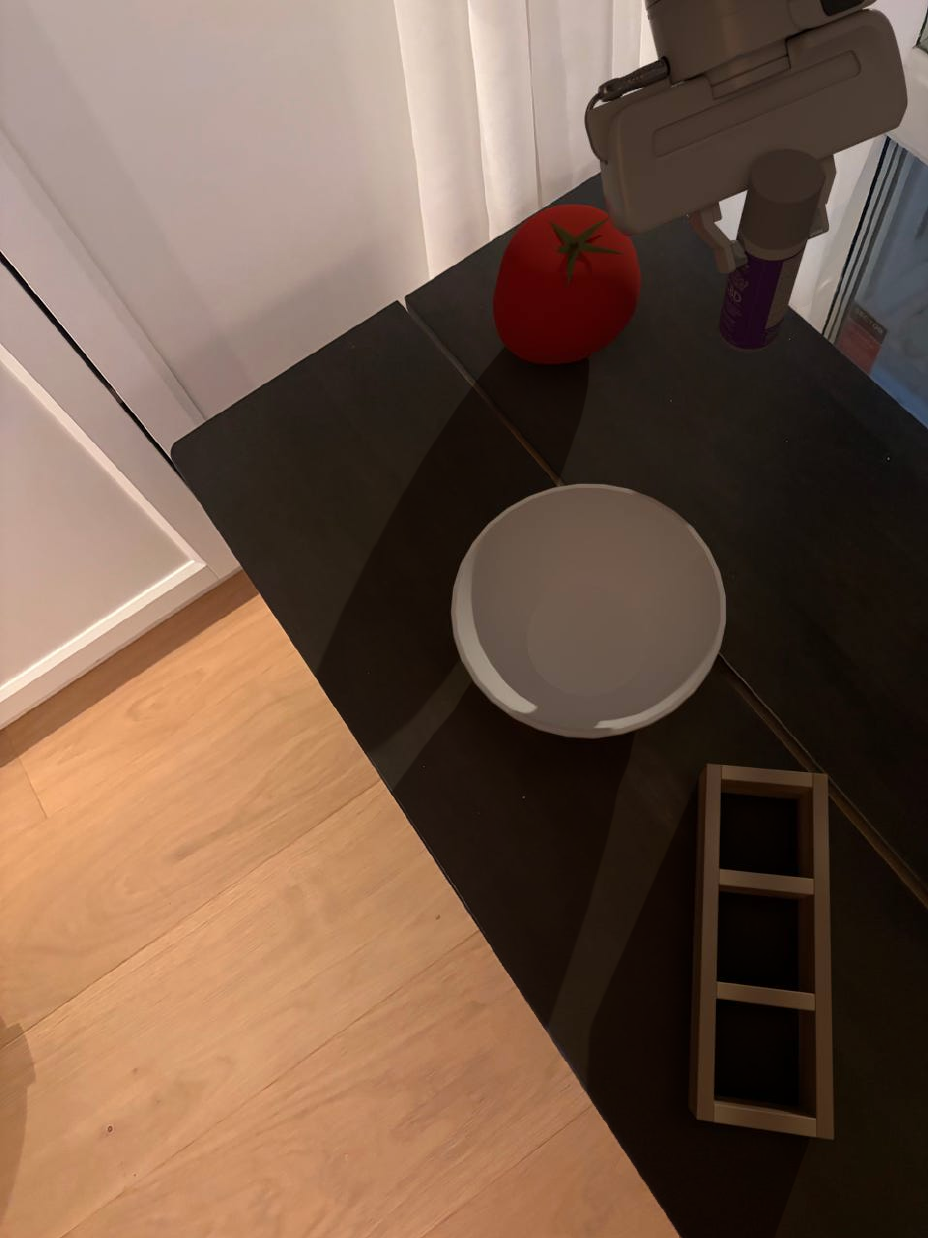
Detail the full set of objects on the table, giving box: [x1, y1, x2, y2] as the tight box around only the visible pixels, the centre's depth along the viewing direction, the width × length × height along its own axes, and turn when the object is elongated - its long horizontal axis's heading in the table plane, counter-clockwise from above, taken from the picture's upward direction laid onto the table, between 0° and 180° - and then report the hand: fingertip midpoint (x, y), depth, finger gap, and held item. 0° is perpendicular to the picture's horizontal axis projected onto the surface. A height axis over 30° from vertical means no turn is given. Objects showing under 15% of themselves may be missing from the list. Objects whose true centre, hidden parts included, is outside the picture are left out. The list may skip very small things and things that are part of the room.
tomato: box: [492, 204, 642, 365], centre depth 78 cm, size 12×14×11 cm
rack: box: [688, 763, 835, 1141], centre depth 61 cm, size 8×22×5 cm, turn 173°
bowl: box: [450, 483, 727, 739], centre depth 69 cm, size 20×19×8 cm
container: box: [718, 149, 824, 354], centre depth 64 cm, size 5×5×15 cm
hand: (774, 252), depth 63 cm, fingers closed on container, 5 cm apart
